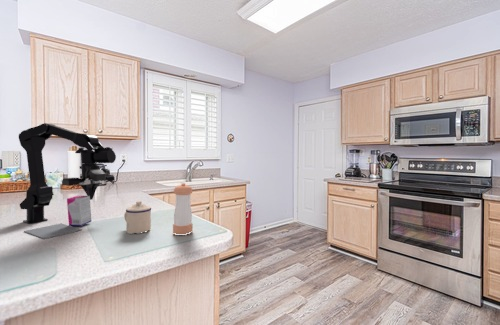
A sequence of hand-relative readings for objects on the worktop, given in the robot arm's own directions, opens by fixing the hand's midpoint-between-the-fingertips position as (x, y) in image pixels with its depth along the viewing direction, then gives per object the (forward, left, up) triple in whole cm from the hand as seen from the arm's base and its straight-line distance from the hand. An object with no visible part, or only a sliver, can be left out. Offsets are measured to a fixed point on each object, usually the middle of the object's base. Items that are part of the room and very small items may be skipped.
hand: (91, 199), depth 103 cm
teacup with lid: (+25, +3, -10) cm, 28 cm away
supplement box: (-1, -4, -10) cm, 11 cm away
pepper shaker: (+43, +10, -10) cm, 46 cm away
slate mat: (-1, -13, -10) cm, 17 cm away
